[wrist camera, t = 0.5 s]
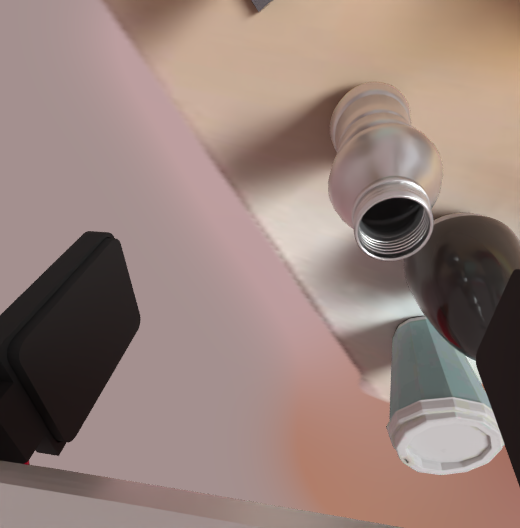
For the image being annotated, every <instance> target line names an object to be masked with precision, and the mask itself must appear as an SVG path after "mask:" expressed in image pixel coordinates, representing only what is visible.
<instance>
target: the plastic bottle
mask: <svg viewBox="0 0 520 528" xmlns="http://www.w3.org/2000/svg"><path fill="white" fill-rule="evenodd" d="M330 136H331V141H332V143H333V146H334V148H335V150H336V152H337V155H336V157H335V159H334V162H333V164H332V167H331V171H330V176H329V181H328V192H329V197H330V201H331V203H332V205H333V208H334V209H335V211H336V212H337V214H338V215H339V216H340V218H341V219H342V220H343V221H344V222H345V223H346V224H347V225H348V226H350V227H351V228H353V229H354V235H355V239H356V241H357V244H358V246H359V247H360V249H361V250H362V251H363V252H364V253H365V254H367V255H368V256H370V257H372V258H374V259H377V260H382V261H396V260H401V259H404V258H407V257H409V256H411V255H413V254H415V253H416V252H418V251H419V250H420V249H421V248H422V247H423V246H424V245H425V244H426V243H427V241H428V240H429V238H430V236H431V234H432V230H433V215H432V211H431V208H432V207H433V205H434V204H435V202H436V200H437V198H438V195H439V193H440V189H441V183H442V178H443V164H442V160H441V157H440V154H439V152H438V150H437V148H436V147H435V145H434V144H433V143H432V142H431V141H430V140H429V139H428V137H426V136H425V135H424V133H422V132H420V131H419V130H417V129H416V128H414V127H412V126H411V113H410V108H409V104H408V102H407V100H406V98H405V96H404V95H403V94H402V93H401V92H400V91H399V90H398V89H397V88H395V87H394V86H392V85H389V84H386V83H381V82H368V83H364V84H361V85H358V86H357V87H355V88H353V89H351V90H350V91H349V92H348V93H346V94H345V96H344V97H343V98H342V99H341V100H340V101H339V103H338V104H337V106H336V107H335V109H334V112H333V114H332V117H331V122H330Z"/></svg>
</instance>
